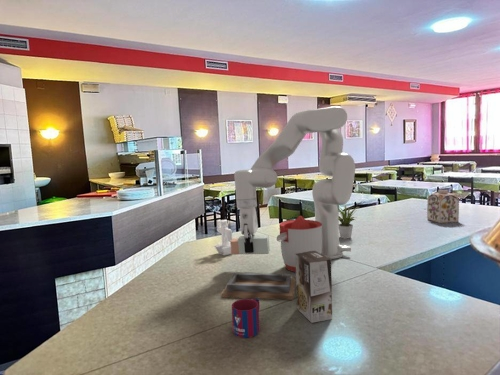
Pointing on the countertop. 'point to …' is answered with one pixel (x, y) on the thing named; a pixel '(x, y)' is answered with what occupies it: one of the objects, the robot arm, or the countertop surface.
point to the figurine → (224, 238)
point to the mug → (246, 317)
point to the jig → (260, 286)
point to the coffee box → (314, 286)
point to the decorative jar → (443, 207)
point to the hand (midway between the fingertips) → (250, 250)
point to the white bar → (258, 245)
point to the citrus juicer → (299, 239)
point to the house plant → (346, 223)
